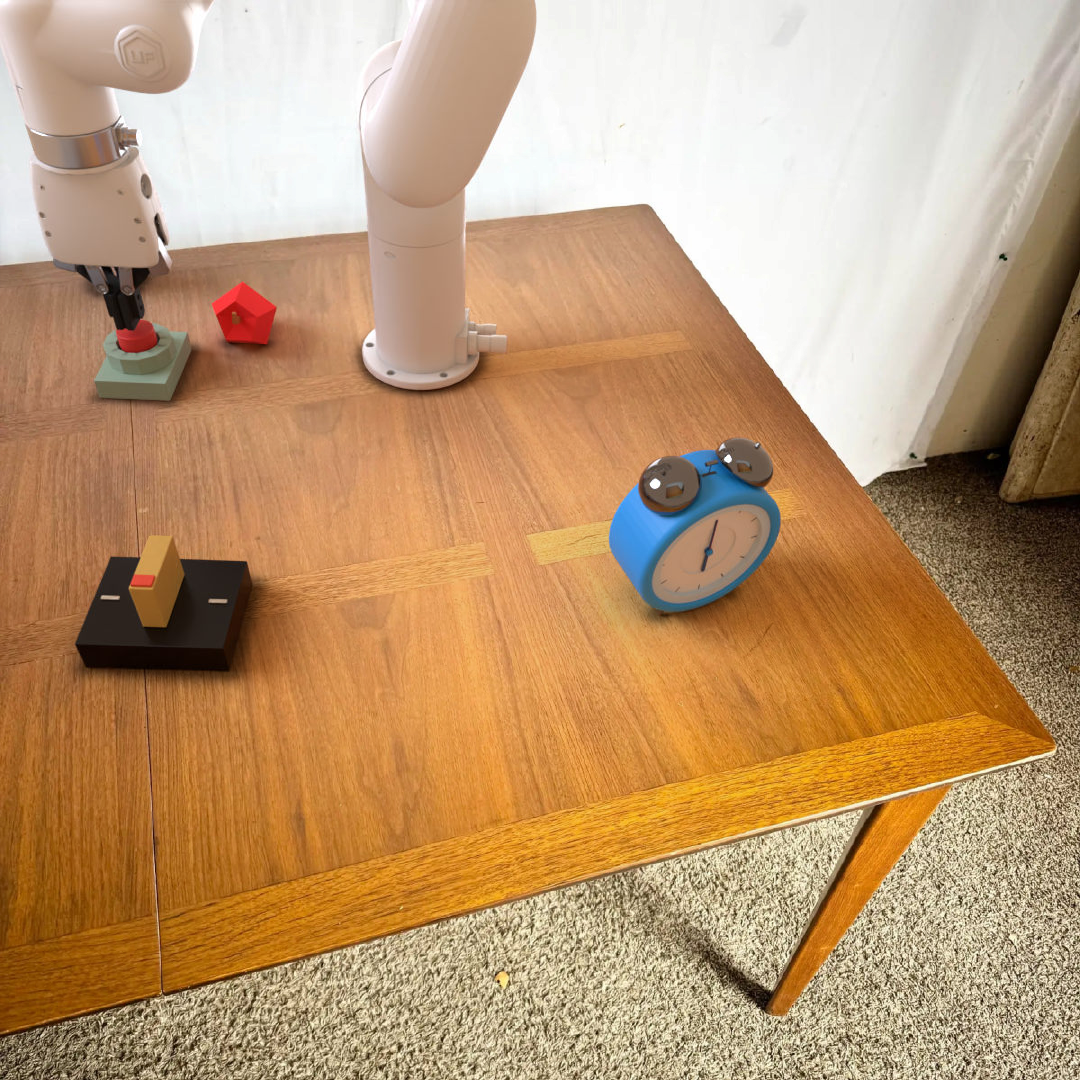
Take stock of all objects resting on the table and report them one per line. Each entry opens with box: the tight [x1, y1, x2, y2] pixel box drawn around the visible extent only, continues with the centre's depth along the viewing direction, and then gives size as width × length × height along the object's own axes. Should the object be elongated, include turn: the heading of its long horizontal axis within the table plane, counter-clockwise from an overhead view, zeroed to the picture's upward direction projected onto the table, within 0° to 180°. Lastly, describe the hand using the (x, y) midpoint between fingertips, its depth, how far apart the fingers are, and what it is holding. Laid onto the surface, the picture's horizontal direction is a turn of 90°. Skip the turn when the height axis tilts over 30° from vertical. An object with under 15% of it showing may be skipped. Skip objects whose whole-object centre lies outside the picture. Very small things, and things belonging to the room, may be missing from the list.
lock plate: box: [74, 556, 254, 672], centre depth 76 cm, size 11×9×3 cm
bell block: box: [93, 322, 193, 402], centre depth 98 cm, size 9×7×4 cm
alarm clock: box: [608, 436, 782, 616], centre depth 78 cm, size 13×6×15 cm, turn 115°
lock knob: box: [129, 534, 185, 627], centre depth 74 cm, size 6×2×5 cm, turn 0°
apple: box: [211, 281, 278, 345], centre depth 103 cm, size 7×7×8 cm
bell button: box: [115, 319, 157, 353], centre depth 97 cm, size 4×4×2 cm
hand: (129, 322), depth 95 cm, fingers closed
